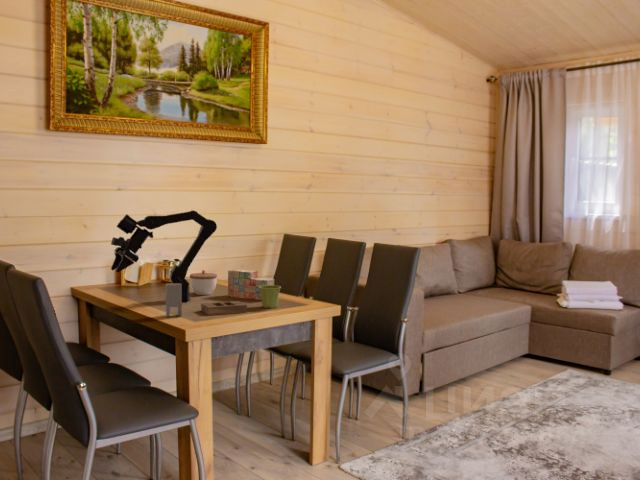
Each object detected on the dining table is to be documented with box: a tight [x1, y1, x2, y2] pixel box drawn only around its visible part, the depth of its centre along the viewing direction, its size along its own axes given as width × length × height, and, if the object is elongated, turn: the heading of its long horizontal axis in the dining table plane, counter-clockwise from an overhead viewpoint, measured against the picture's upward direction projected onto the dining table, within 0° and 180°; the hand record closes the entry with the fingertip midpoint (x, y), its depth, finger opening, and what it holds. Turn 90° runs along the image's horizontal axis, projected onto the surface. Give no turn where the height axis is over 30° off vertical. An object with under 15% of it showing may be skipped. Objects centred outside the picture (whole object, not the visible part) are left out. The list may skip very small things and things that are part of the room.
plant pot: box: [259, 284, 282, 309], centre depth 272 cm, size 9×9×9 cm
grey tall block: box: [165, 282, 183, 318], centre depth 249 cm, size 4×6×12 cm
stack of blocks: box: [227, 268, 275, 301], centre depth 294 cm, size 21×6×12 cm, turn 63°
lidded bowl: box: [189, 269, 218, 296], centre depth 301 cm, size 13×13×11 cm
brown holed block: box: [200, 300, 248, 316], centre depth 260 cm, size 10×16×3 cm, turn 117°
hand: (114, 270), depth 270 cm, fingers open, 9 cm apart
